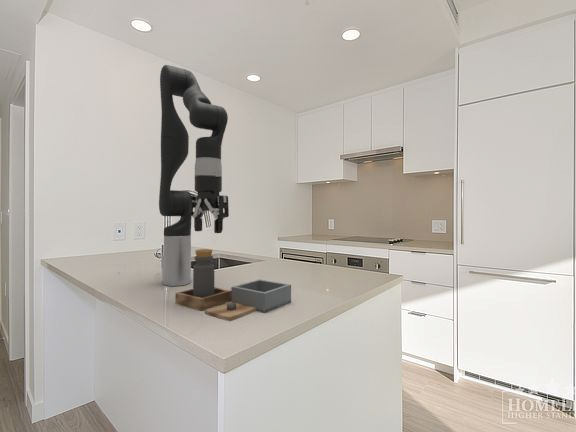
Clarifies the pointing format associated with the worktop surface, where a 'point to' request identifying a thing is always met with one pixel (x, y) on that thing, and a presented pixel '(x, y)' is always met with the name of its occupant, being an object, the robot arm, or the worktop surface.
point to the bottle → (203, 274)
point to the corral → (202, 299)
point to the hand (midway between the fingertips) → (208, 232)
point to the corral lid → (230, 311)
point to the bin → (262, 294)
